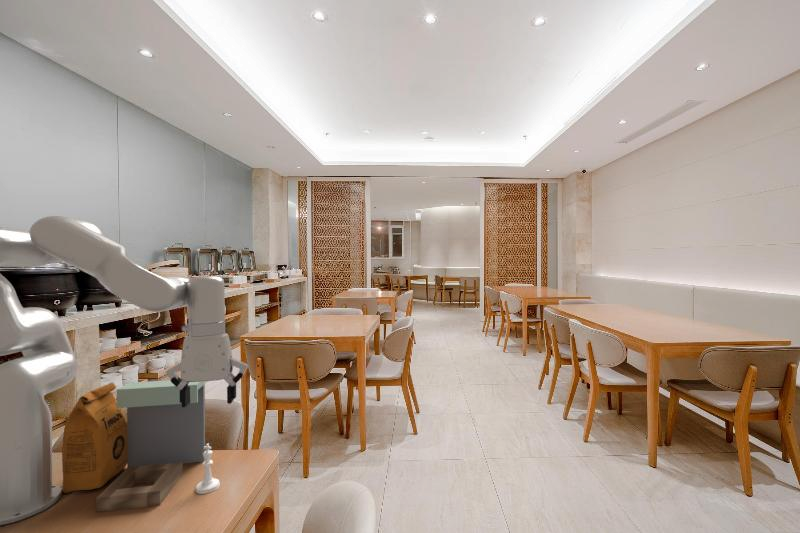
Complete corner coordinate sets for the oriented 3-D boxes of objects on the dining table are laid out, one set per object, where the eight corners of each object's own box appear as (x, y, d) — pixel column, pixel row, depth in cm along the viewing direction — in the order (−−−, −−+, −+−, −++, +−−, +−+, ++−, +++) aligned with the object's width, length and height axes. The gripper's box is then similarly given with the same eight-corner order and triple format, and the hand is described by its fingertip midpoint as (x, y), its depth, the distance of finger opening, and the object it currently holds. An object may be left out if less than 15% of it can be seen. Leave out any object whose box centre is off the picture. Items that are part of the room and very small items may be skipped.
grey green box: (117, 478, 88) (116, 389, 89) (129, 466, 94) (129, 382, 94) (197, 470, 92) (196, 384, 92) (205, 459, 97) (204, 378, 97)
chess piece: (209, 495, 82) (209, 450, 82) (190, 492, 83) (190, 448, 83) (224, 482, 86) (224, 440, 87) (206, 480, 87) (206, 438, 88)
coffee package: (136, 464, 95) (136, 379, 95) (100, 494, 82) (99, 396, 82) (96, 466, 94) (95, 380, 94) (53, 496, 82) (53, 397, 82)
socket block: (96, 512, 76) (96, 497, 76) (128, 479, 88) (128, 467, 88) (159, 505, 78) (159, 491, 78) (182, 474, 90) (182, 462, 90)
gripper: (158, 334, 80) (160, 413, 80) (242, 330, 83) (244, 406, 83) (173, 328, 87) (174, 401, 87) (250, 325, 90) (251, 395, 90)
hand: (208, 403), depth 85 cm, fingers open, 9 cm apart
